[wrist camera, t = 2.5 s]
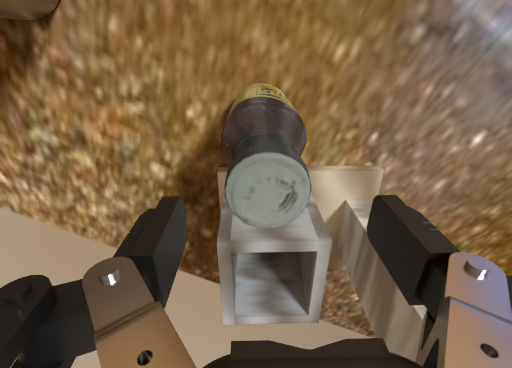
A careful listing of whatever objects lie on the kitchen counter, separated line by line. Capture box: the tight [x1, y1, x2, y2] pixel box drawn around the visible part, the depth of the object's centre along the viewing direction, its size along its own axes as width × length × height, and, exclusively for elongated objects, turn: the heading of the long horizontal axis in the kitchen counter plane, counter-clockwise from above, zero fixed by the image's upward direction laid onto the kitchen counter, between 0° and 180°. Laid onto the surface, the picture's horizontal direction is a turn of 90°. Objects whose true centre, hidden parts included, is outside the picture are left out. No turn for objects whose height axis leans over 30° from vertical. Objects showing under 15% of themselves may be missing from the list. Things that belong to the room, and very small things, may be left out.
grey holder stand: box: [217, 166, 427, 362], centre depth 24 cm, size 20×16×30 cm
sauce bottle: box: [220, 83, 311, 228], centre depth 21 cm, size 7×6×20 cm
